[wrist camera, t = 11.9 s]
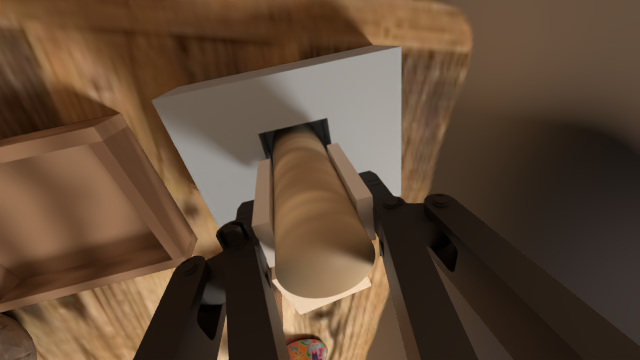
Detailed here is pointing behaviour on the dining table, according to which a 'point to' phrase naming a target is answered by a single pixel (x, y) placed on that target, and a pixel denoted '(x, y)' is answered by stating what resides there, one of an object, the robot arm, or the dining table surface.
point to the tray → (83, 212)
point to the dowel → (314, 220)
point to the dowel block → (287, 120)
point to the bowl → (15, 341)
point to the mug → (307, 350)
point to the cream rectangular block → (310, 304)
